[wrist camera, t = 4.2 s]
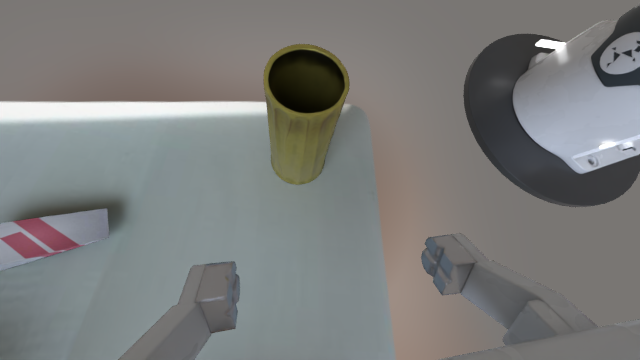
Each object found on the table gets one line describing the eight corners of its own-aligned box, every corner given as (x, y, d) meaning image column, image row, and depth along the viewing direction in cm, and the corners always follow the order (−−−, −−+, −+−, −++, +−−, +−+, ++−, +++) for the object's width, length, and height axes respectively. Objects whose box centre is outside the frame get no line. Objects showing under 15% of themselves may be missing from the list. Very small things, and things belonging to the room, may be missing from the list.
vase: (333, 169, 29) (375, 97, 15) (288, 194, 27) (287, 142, 14) (307, 127, 30) (323, 24, 16) (261, 149, 28) (236, 58, 14)
